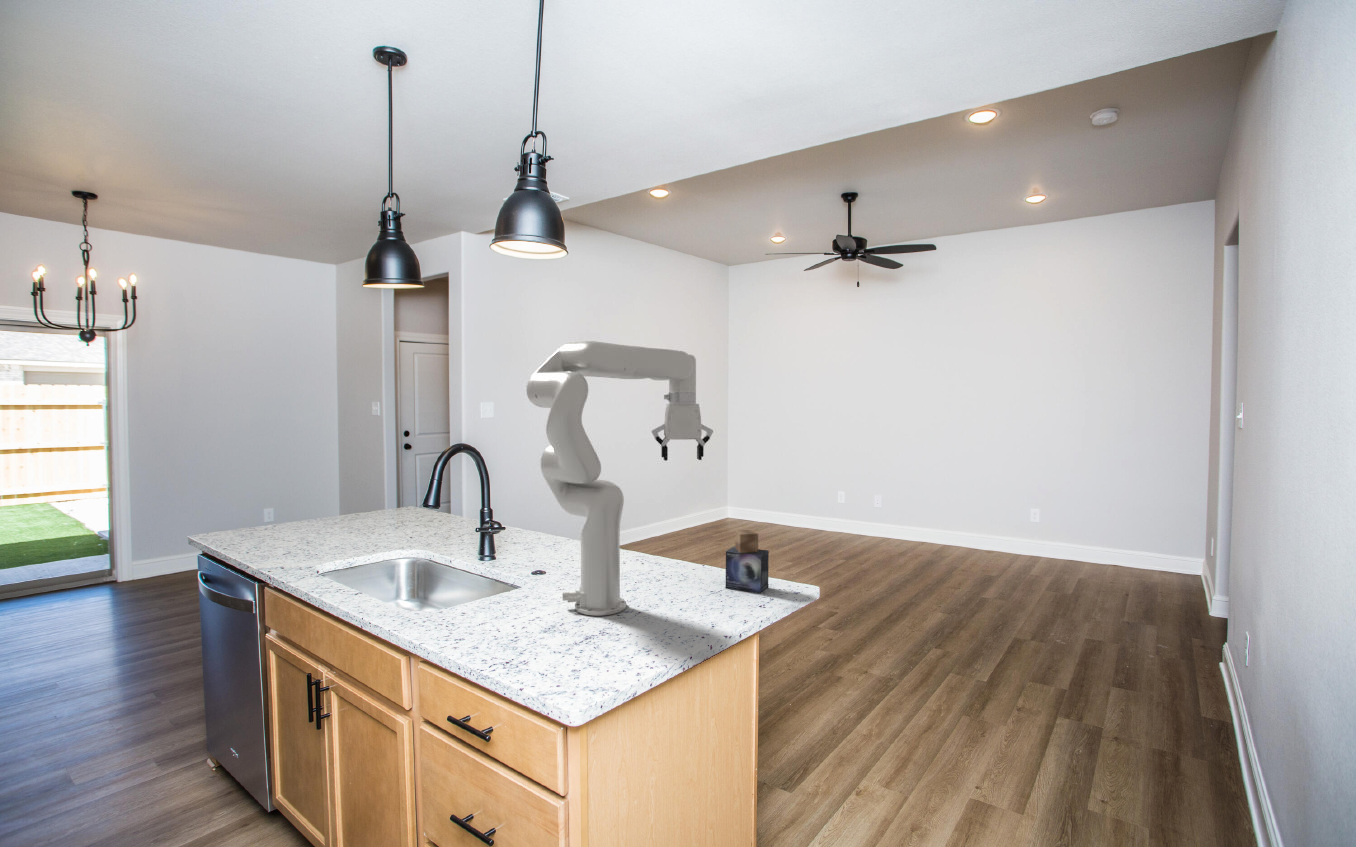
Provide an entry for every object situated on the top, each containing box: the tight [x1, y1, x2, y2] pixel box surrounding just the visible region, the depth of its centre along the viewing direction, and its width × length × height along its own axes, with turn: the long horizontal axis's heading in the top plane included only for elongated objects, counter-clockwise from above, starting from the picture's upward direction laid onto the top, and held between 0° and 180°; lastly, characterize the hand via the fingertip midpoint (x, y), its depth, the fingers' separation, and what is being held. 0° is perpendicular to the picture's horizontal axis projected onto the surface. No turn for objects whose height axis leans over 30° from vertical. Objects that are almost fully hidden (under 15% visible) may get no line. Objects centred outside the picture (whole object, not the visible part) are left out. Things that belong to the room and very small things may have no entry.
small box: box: [725, 546, 770, 594], centre depth 178 cm, size 11×6×10 cm, turn 62°
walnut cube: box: [734, 529, 759, 553], centre depth 177 cm, size 5×5×5 cm
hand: (682, 459), depth 184 cm, fingers open, 9 cm apart
